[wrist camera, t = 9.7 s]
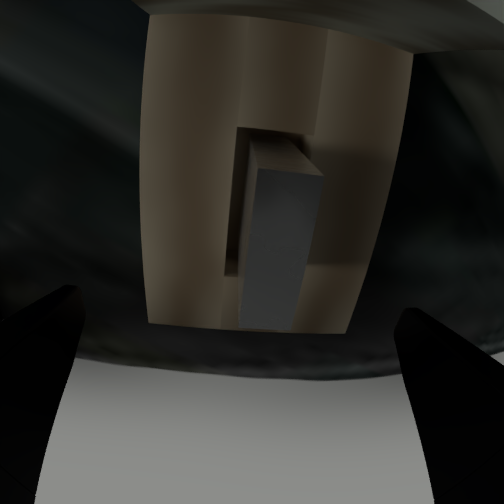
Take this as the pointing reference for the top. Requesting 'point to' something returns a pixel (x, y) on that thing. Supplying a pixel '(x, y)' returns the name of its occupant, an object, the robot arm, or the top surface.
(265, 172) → the bracket plate
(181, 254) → the post base
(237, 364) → the top surface
